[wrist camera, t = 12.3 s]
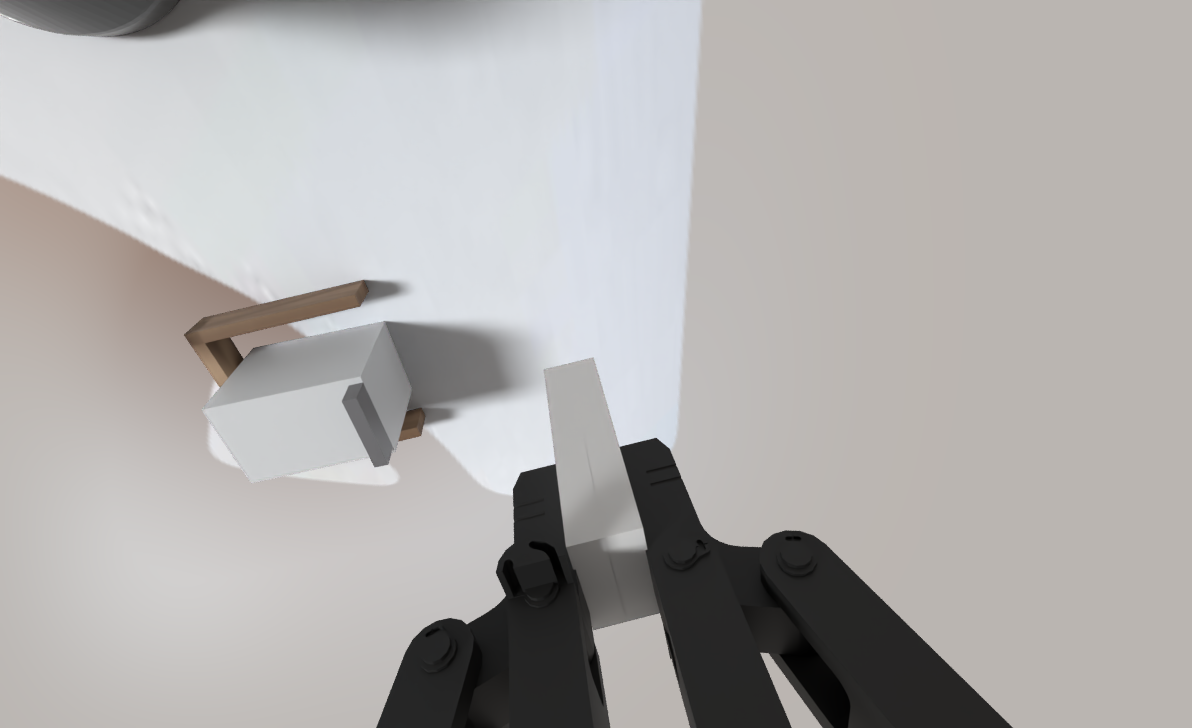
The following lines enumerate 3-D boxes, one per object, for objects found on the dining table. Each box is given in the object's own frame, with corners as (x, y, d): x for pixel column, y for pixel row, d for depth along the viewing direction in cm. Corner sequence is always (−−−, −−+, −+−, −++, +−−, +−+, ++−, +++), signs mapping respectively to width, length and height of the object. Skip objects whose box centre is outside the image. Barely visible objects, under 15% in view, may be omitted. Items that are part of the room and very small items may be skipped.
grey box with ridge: (253, 347, 45) (186, 427, 35) (384, 320, 45) (353, 392, 36) (291, 414, 48) (240, 502, 39) (412, 388, 49) (390, 469, 39)
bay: (203, 317, 43) (183, 334, 40) (363, 279, 43) (354, 294, 40) (288, 449, 50) (277, 471, 47) (425, 416, 50) (420, 435, 48)
